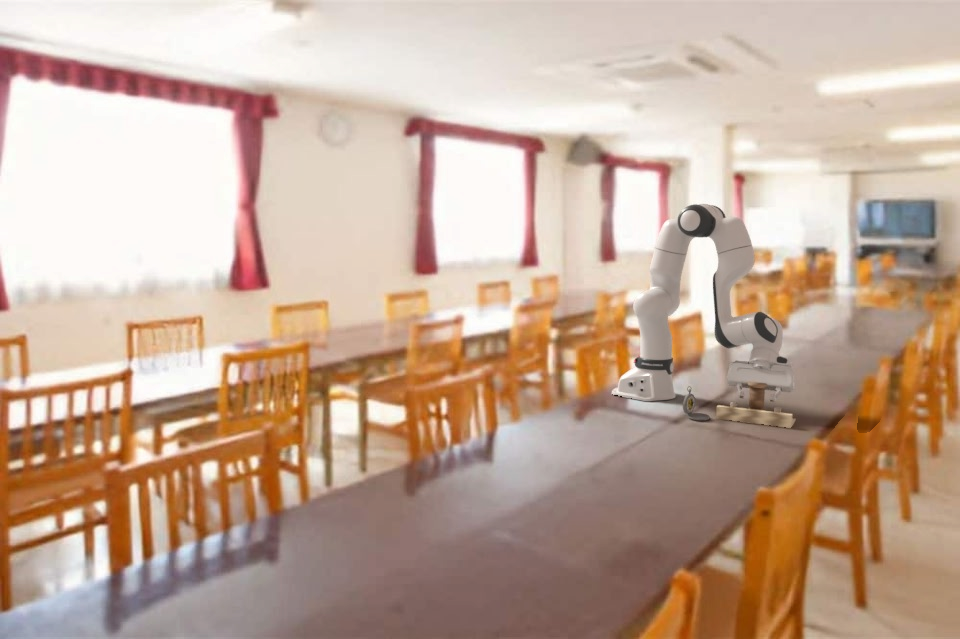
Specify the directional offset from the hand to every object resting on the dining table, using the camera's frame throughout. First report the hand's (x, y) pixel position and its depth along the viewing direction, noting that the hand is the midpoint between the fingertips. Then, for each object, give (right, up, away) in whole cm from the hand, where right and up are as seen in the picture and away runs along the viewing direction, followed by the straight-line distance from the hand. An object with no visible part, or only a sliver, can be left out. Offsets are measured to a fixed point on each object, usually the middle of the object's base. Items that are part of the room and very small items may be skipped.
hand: (756, 399), depth 222 cm
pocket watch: (-18, -7, +3) cm, 20 cm away
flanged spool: (0, -6, +1) cm, 6 cm away
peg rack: (0, -7, +1) cm, 7 cm away
